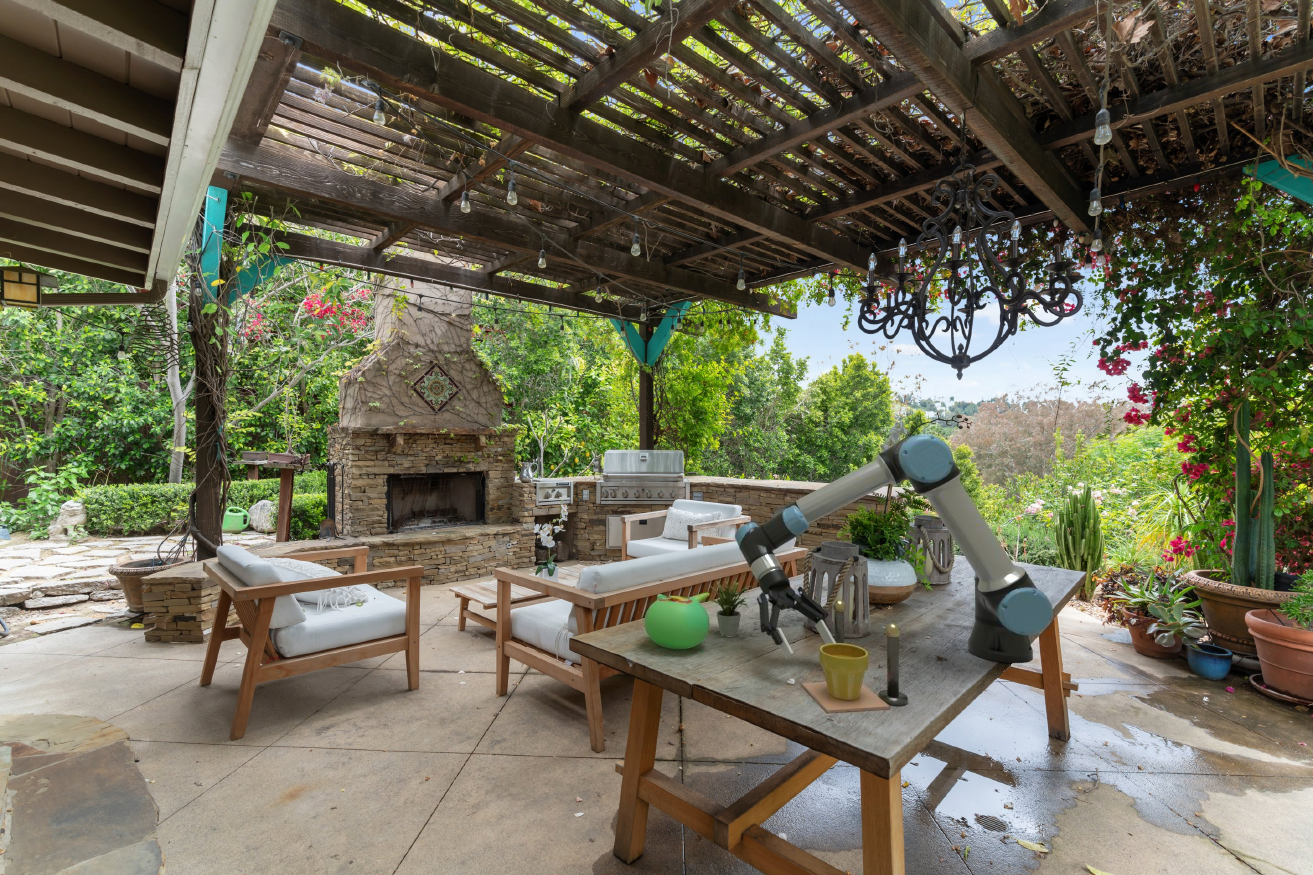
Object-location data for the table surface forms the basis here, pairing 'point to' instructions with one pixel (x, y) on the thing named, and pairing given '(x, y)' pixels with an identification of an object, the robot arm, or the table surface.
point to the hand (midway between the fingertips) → (811, 651)
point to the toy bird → (677, 621)
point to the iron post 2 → (893, 669)
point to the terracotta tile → (833, 704)
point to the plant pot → (843, 669)
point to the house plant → (729, 609)
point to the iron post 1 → (839, 621)
